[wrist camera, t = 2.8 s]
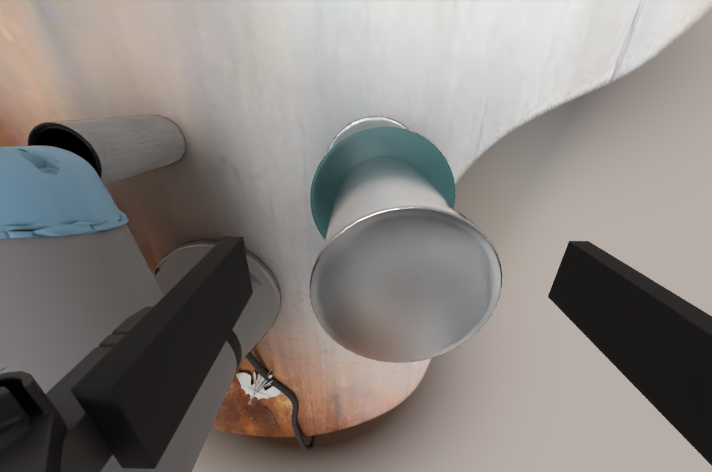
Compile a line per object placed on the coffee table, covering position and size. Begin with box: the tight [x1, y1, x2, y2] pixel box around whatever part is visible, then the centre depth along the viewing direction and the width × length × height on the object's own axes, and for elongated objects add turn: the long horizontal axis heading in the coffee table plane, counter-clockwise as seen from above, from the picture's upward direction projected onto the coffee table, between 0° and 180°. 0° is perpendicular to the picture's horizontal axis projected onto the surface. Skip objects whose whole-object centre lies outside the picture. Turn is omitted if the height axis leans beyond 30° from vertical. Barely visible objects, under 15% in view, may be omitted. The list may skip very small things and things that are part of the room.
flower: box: [236, 365, 283, 404], centre depth 42 cm, size 8×8×3 cm
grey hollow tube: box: [28, 115, 185, 185], centre depth 23 cm, size 4×4×10 cm
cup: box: [310, 156, 502, 363], centre depth 14 cm, size 7×7×10 cm
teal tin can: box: [311, 116, 455, 240], centre depth 24 cm, size 10×10×11 cm
